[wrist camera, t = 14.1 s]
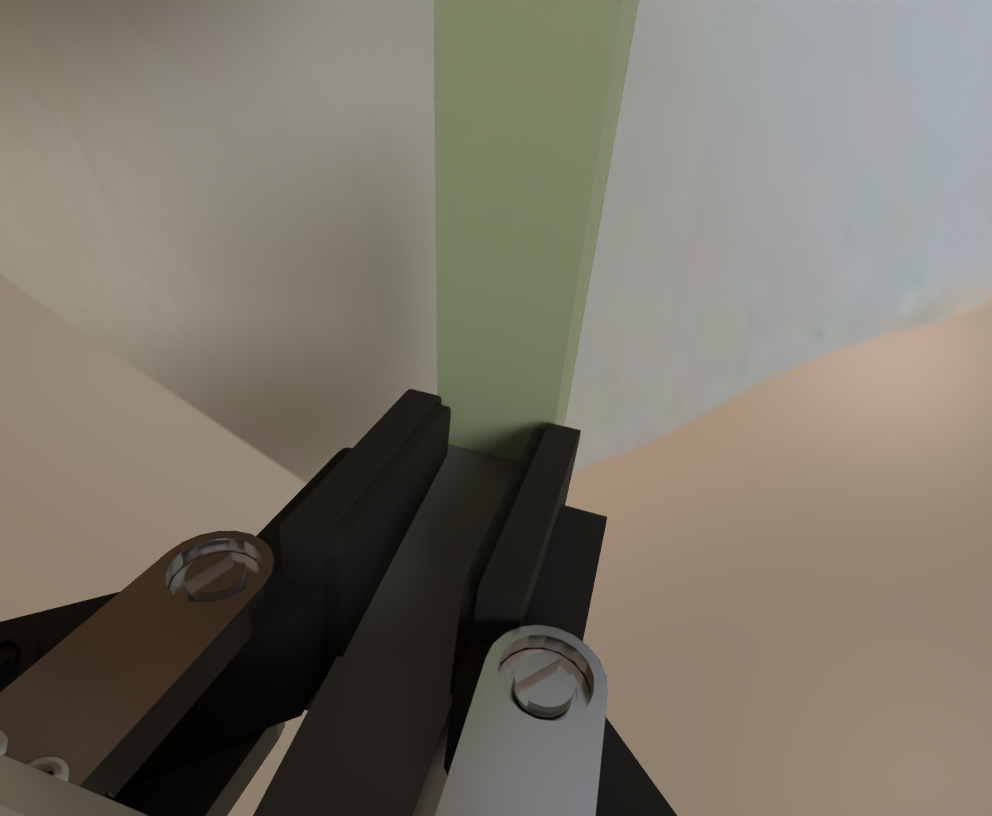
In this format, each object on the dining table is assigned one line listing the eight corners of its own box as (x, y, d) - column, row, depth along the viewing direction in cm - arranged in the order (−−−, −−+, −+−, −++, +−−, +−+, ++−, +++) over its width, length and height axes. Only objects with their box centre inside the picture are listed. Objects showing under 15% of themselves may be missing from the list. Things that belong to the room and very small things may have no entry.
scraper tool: (655, -99, 7) (-24, 3, 1) (548, 511, 14) (399, 997, 8) (483, -111, 7) (-902, -121, 1) (464, 488, 14) (258, 935, 8)
